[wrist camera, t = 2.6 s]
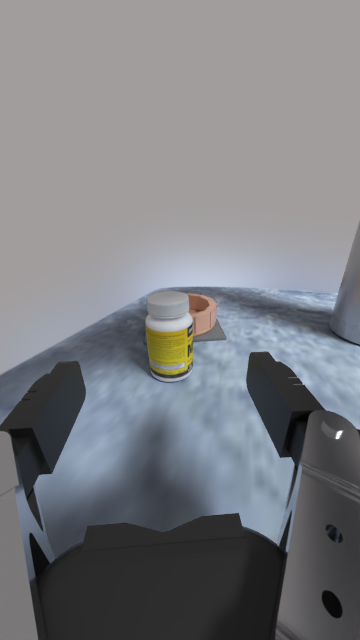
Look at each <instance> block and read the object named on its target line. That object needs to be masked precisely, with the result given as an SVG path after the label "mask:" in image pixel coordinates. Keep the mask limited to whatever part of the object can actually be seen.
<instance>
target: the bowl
mask: <svg viewBox="0 0 360 640" xmlns="http://www.w3.org/2000/svg"><path fill="white" fill-rule="evenodd" d="M185 294H187V293H185ZM187 295H188V297H189V312H188V313H189V314H190V315H191V316H192V320H193V337H196V336H200V335H203V334H205V333H207V332H209V331H210V330H212V329H213V327H214V326H215V322H216V314H217V305H216V303H215V301H214V299H212V298H209V297H207V296H204V295H200V294H193V293H188V294H187ZM148 315H149V313H148Z"/></svg>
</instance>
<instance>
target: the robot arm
mask: <svg viewBox="0 0 360 640" xmlns="http://www.w3.org/2000/svg"><path fill="white" fill-rule="evenodd" d="M329 326H330V328H331V330H332V331H333V332H335V333H336V334H337V335H339V336H341V337H342V338H344V339H347V340H349V341H351V342H354V343H357V344H360V221H359V224H358V228H357V231H356V235H355V238H354V241H353V245H352V248H351V252H350V255H349V259H348V262H347V266H346V269H345V272H344V276H343V279H342V282H341V286H340V289H339V293H338V296H337V300H336V303H335V307H334V310H333V313H332V317H331V320H330V324H329ZM246 382H247V388H248V391H249V394H250V396H251V398H252V400H253V402H254V404H255V406H256V408H257V410H258V412H259V414H260V417H261V419H262V421H263V423H264V425H265V427H266V429H267V431H268V433H269V435H270V437H271V439H272V441H273V444H274V446H275V448H276V450H277V452H278V454H279V456H280V458H282V457H291V458H292V459H293V461H294V463H295V464H294V467H293V472H292V477H291V482H290V487H289V492H288V497H287V502H286V507H285V512H284V517H283V521H282V525H281V529H280V533H279V537H278V542H277V544H276V543H274V542H273V541H272V540H270V539H269V538H267V537H266V536H264V535H262V534H260V533H259V532H257V531H254V530H252V529H249V528H247V527H243V526H242V524H241V520H240V516H239V513H235V514H223V515H212V516H202V517H200V518H197V519H195V520H193V521H191V522H188V523H186V524H184V525H181V526H179V527H177V528H174V529H172V530H170V531H167V532H159V531H155V530H151V529H147V528H143V527H139V526H136V525H132V524H128V523H119V524H107V525H96V526H87V530H86V534H85V538H84V541H83V542H80V543H78V544H76V545H75V546H73V547H71V548H69V549H68V550H67V551H65V552H64V553H62V554H61V555H60V556H58V557H57V558H56V559H55V556H54V553H53V551H52V548H51V545H50V542H49V539H48V536H47V532H46V528H45V524H44V519H43V515H42V511H41V507H40V503H39V499H38V494H37V490H36V487H35V485H34V484H35V482H36V480H37V478H38V476H39V475H42V474H52V472H53V470H54V468H55V465H56V463H57V461H58V459H59V456H60V454H61V452H62V450H63V448H64V445H65V443H66V441H67V439H68V436H69V434H70V432H71V430H72V427H73V425H74V423H75V421H76V418H77V416H78V414H79V412H80V409H81V407H82V405H83V403H84V400H85V395H86V389H85V384H84V380H83V377H82V373H81V369H80V365H79V363H78V362H77V361H69V362H59V363H57V365H56V366H55V367H54V369H53V370H52V371H51V373H50V374H45V375H44V376H43V377H41V378H40V379H39V380H37V381H36V382H35V383H34V384H33V385H32V387H31V388H30V389H29V390H28V393H26V394H25V395H24V397H23V398H22V401H20V402H19V403H18V404H17V405H16V407H15V408H14V409H13V410H12V412H11V413H10V414H9V415H8V417H7V418H6V419H5V420H4V422H3V423H2V424H1V425H0V640H360V430H359V429H356V428H355V427H354V426H353V424H352V423H350V422H349V421H348V420H347V419H345V418H344V417H342V416H340V415H338V414H336V413H334V412H330V411H326V410H325V409H324V408H323V407H322V406H321V404H320V403H319V402H318V401H317V400H316V398H315V397H314V396H313V395H312V394H311V392H310V391H309V390H308V389H307V388H306V386H305V385H303V383H302V382H301V381H300V379H299V378H297V376H296V375H295V373H294V372H293V371H292V370H291V369H290V368H289V367H288V366H286V365H285V364H283V363H282V362H276V361H275V360H274V359H273V357H272V356H271V355H270V353H269V352H251V353H250V356H249V363H248V371H247V379H246Z"/></svg>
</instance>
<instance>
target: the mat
mask: <svg viewBox="0 0 360 640" xmlns="http://www.w3.org/2000/svg"><path fill="white" fill-rule="evenodd" d="M210 340H226V336H225V334H224V332H223V330H222V328H221V326H220V324H219V322H218V320H217V318H216V322H215V326H214V327H213V329H212V330H210V331H209V332H207V333H205V334H203V335H200V336H196V337H193V341H210ZM144 344H147V334H146V333H145V339H144Z"/></svg>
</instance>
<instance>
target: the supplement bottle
mask: <svg viewBox="0 0 360 640" xmlns="http://www.w3.org/2000/svg"><path fill="white" fill-rule="evenodd" d="M147 310H148V313H149V315H148V316H147V317H146V320H145V324H146V334H147V344H148V354H149V364H150V371H151V373H152V375H153V376H154V377H155V378H156V379H158V380H160V381H164V382H176V381H180V380H182V379H184V378H186V377H188V376H189V375H190V373H191V372H192V369H193V320H192V316H191V315H190V314H189V313H188V312H189V297H188V295H187V294H185V293H183V292H178V291H163V292H158V293H154V294H152V295H150V296H148V298H147Z"/></svg>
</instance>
